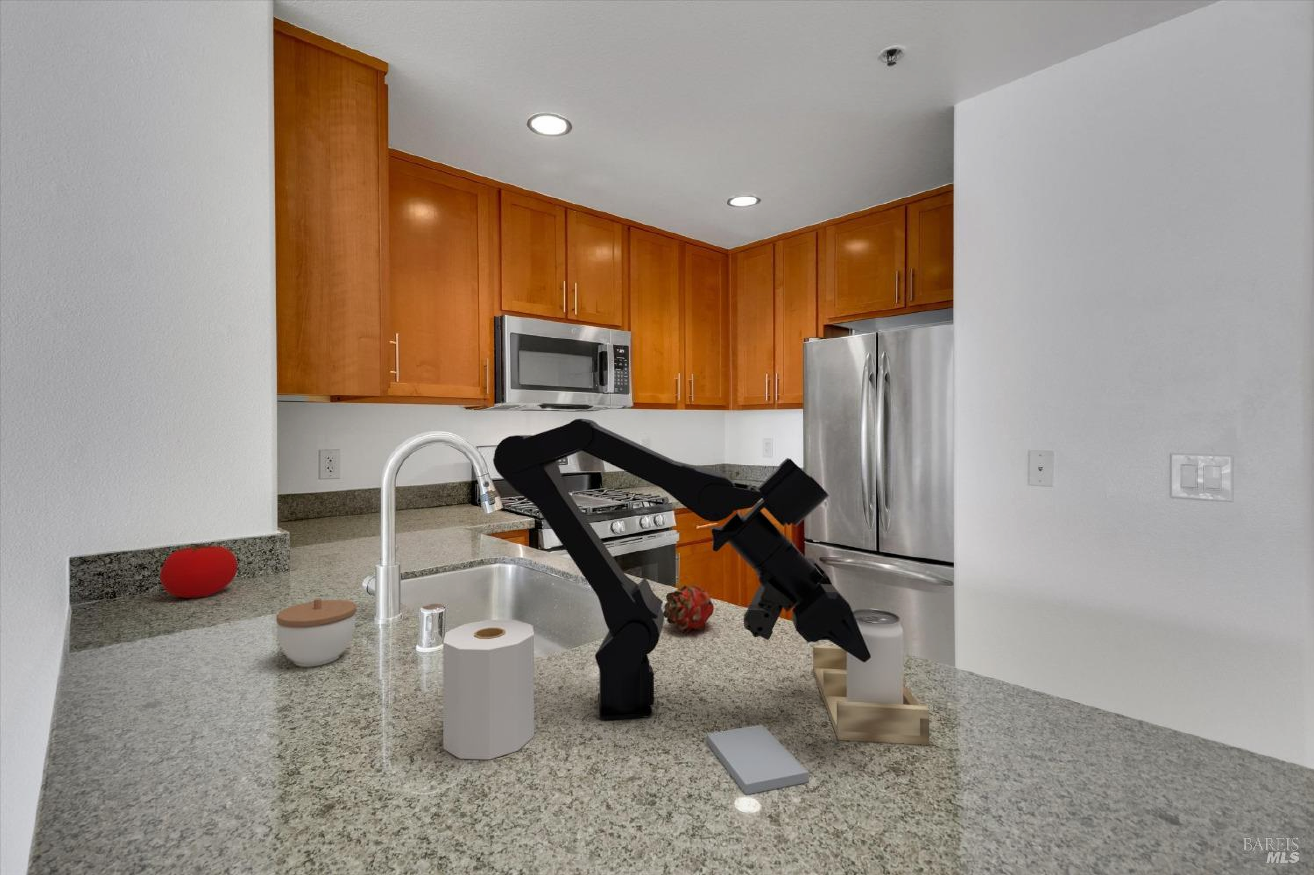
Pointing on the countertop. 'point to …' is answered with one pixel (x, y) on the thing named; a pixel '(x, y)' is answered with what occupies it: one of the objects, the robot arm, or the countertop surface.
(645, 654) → the robot arm
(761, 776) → the block
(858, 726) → the rack
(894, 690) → the can
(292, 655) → the lidded jar
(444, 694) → the toilet paper
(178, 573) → the tomato
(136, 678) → the countertop surface
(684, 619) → the dragon fruit
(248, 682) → the countertop surface
